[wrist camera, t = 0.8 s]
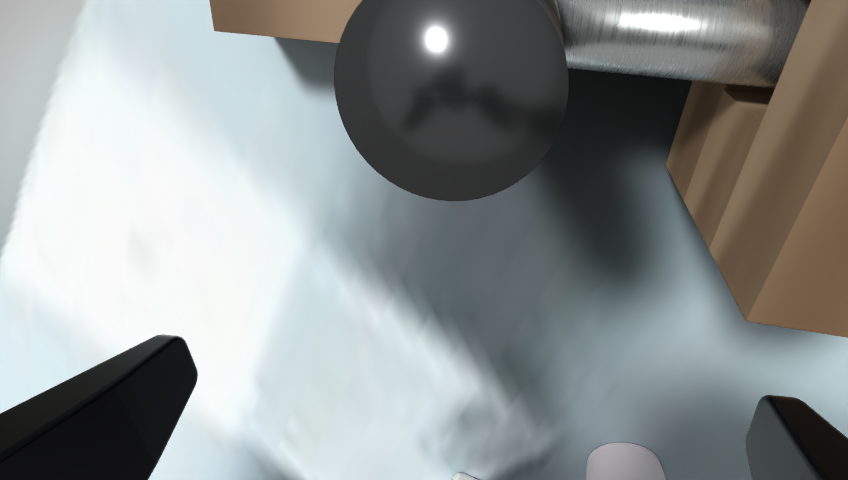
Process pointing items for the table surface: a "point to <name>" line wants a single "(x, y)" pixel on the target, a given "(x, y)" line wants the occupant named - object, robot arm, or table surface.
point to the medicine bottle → (462, 477)
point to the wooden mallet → (722, 162)
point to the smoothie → (623, 463)
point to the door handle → (525, 74)
